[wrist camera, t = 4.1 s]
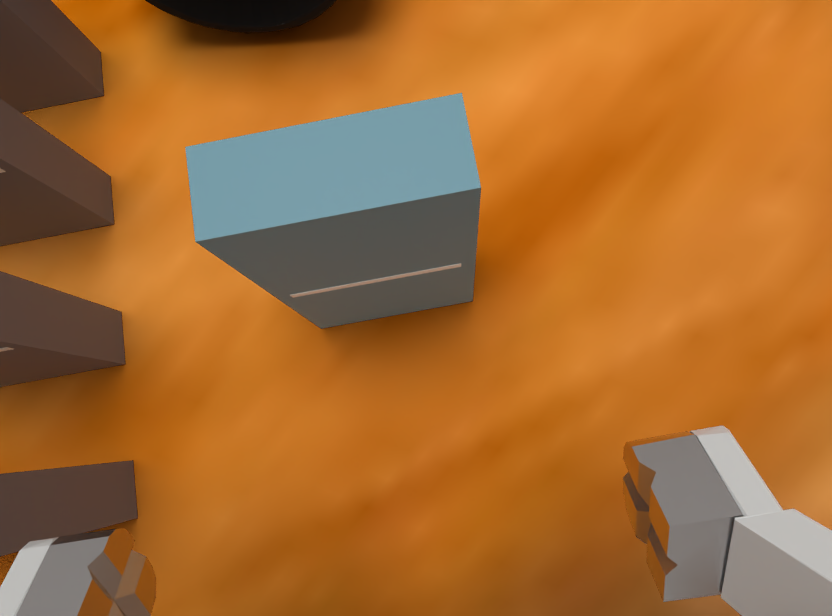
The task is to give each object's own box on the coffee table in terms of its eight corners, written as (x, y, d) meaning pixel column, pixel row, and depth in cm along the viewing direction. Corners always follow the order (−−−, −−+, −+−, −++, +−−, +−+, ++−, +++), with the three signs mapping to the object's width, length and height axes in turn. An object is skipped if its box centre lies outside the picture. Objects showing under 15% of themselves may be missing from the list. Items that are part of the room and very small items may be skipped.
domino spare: (472, 301, 23) (481, 188, 12) (321, 329, 23) (195, 242, 12) (462, 248, 23) (461, 91, 12) (313, 275, 23) (185, 145, 13)
